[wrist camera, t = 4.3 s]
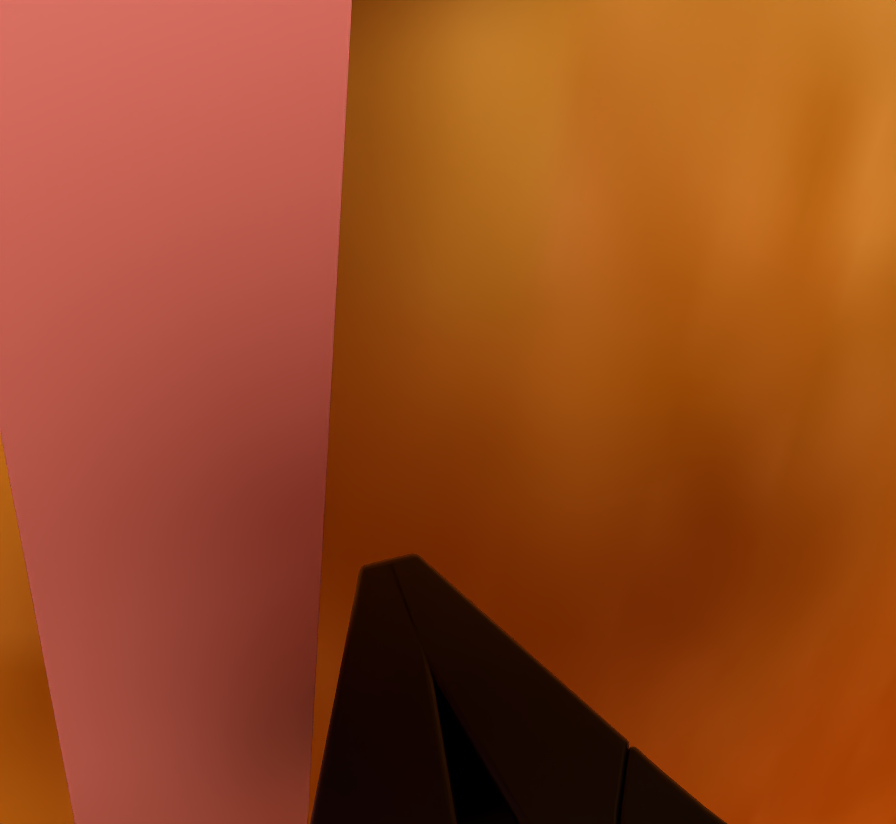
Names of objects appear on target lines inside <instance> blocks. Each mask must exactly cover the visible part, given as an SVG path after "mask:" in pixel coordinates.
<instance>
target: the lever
mask: <svg viewBox="0 0 896 824" xmlns="http://www.w3.org/2000/svg"><path fill="white" fill-rule="evenodd" d="M351 8H352V0H0V432H1V437H2V443H3V448H4V453H5V458H6V464H7V469H8V474H9V479H10V485H11V490H12V495H13V500H14V506H15V511H16V516H17V521H18V527H19V532H20V537H21V542H22V548H23V553H24V558H25V563H26V569H27V574H28V579H29V584H30V590H31V595H32V600H33V605H34V611H35V616H36V621H37V626H38V632H39V637H40V642H41V647H42V653H43V658H44V663H45V668H46V674H47V679H48V684H49V689H50V695H51V700H52V705H53V710H54V716H55V721H56V726H57V731H58V737H59V742H60V747H61V752H62V758H63V763H64V768H65V773H66V779H67V784H68V789H69V794H70V800H71V805H72V810H73V815H74V821H75V824H308V806H309V787H310V769H311V750H312V732H313V713H314V695H315V676H316V658H317V639H318V620H319V602H320V583H321V565H322V546H323V528H324V509H325V491H326V472H327V453H328V435H329V416H330V398H331V379H332V361H333V342H334V323H335V305H336V286H337V268H338V249H339V231H340V212H341V194H342V175H343V156H344V138H345V119H346V101H347V82H348V64H349V45H350V27H351Z"/></svg>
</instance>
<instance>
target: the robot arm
mask: <svg viewBox="0 0 896 824" xmlns="http://www.w3.org/2000/svg"><path fill="white" fill-rule="evenodd" d="M310 824H727V823H726V822H724V821H723V820H722V819H720V818H719V817H718V816H716V815H715V814H714V813H712V812H711V811H710V810H708V809H707V808H706V807H705V806H703V805H702V804H701V803H700V802H699V801H697V800H696V799H695V798H694V797H693V796H691V795H690V794H689V793H688V792H687V791H686V790H684V789H683V788H682V787H681V786H680V785H678V784H677V783H676V782H675V781H674V780H672V779H671V778H670V777H669V776H668V775H666V774H665V773H664V772H663V771H662V770H661V769H660V768H658V767H657V766H656V765H655V764H654V763H653V762H652V761H651V760H649V759H648V758H647V757H646V756H645V755H644V754H643V753H642V752H641V751H639V750H638V749H637V748H636V747H630V748H629V742H628V741H627V739H625V738H624V737H623V736H622V735H621V734H620V733H619V732H618V731H616V730H615V729H614V728H613V727H612V726H611V725H610V724H608V723H607V722H606V721H605V720H604V719H603V718H602V717H601V716H599V715H598V714H597V713H596V712H595V711H594V710H593V709H592V708H590V707H589V706H588V705H587V704H586V703H585V702H584V701H583V700H581V699H580V698H579V697H578V696H577V695H576V694H575V693H574V692H572V691H571V690H570V689H569V688H568V687H567V686H566V685H564V684H563V683H562V682H561V681H560V680H559V679H558V678H557V677H555V676H554V675H553V674H552V673H551V672H550V671H549V670H548V669H546V668H545V667H544V666H543V665H542V664H541V663H540V662H539V661H537V660H536V659H535V658H534V657H533V656H532V655H531V654H530V653H528V652H527V651H526V650H525V649H524V648H523V647H522V646H521V645H519V644H518V643H517V642H516V641H515V640H514V639H513V638H511V637H510V636H509V635H508V634H507V633H506V632H505V631H504V630H502V629H501V628H500V627H499V626H498V625H497V624H496V623H495V622H493V621H492V620H491V619H490V618H489V617H488V616H487V615H486V614H484V613H483V612H482V611H481V610H480V609H479V608H478V607H477V606H475V605H474V604H473V603H472V602H471V601H470V600H469V599H467V598H466V597H465V596H464V595H463V594H462V593H461V592H460V591H458V590H457V589H456V588H455V587H454V586H453V585H452V584H451V583H449V582H448V581H447V580H446V579H445V578H444V577H443V576H442V575H440V574H439V573H438V572H437V571H436V570H435V569H434V568H433V567H431V566H430V565H429V564H428V563H427V562H426V561H425V560H424V559H422V558H421V557H420V556H419V555H417V554H408V555H404V556H400V557H396V558H392V559H387V560H383V561H379V562H375V563H371V564H367V565H364V566H363V567H362V568H361V569H360V572H359V576H358V581H357V586H356V592H355V597H354V602H353V607H352V612H351V617H350V622H349V627H348V633H347V638H346V643H345V648H344V653H343V658H342V663H341V668H340V674H339V679H338V684H337V689H336V694H335V699H334V704H333V709H332V714H331V720H330V725H329V730H328V735H327V740H326V745H325V750H324V755H323V761H322V766H321V771H320V776H319V781H318V786H317V791H316V796H315V801H314V807H313V812H312V817H311V822H310Z"/></svg>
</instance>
